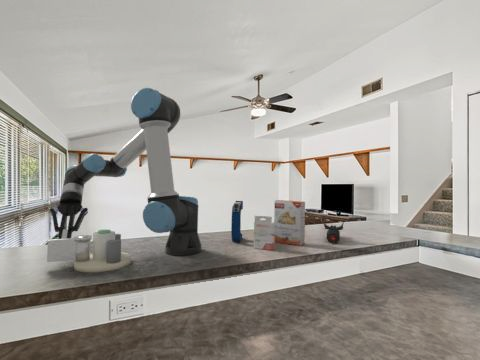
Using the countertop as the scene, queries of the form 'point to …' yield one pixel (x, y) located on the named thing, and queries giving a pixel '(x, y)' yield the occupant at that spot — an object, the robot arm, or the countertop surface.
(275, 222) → the cracker box
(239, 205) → the handheld scanner
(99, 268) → the base
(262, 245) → the ink cartridge box
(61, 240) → the wing knob
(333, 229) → the horned monster figurine
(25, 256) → the countertop surface
